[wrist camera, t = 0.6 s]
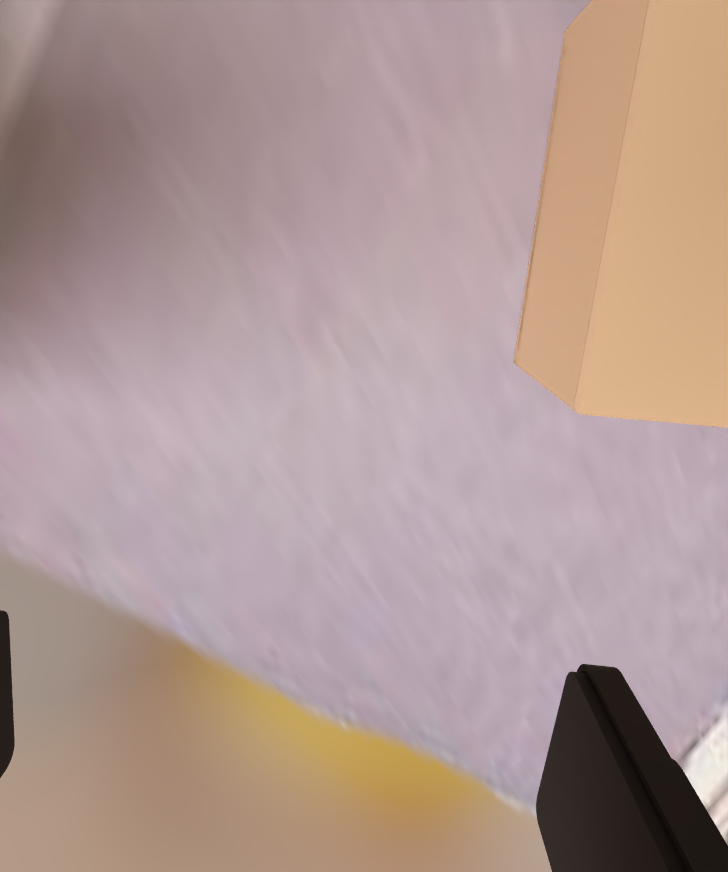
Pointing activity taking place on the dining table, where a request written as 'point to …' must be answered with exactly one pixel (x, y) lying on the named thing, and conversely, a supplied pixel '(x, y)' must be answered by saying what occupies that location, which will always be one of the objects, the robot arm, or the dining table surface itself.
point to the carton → (578, 190)
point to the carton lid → (667, 233)
